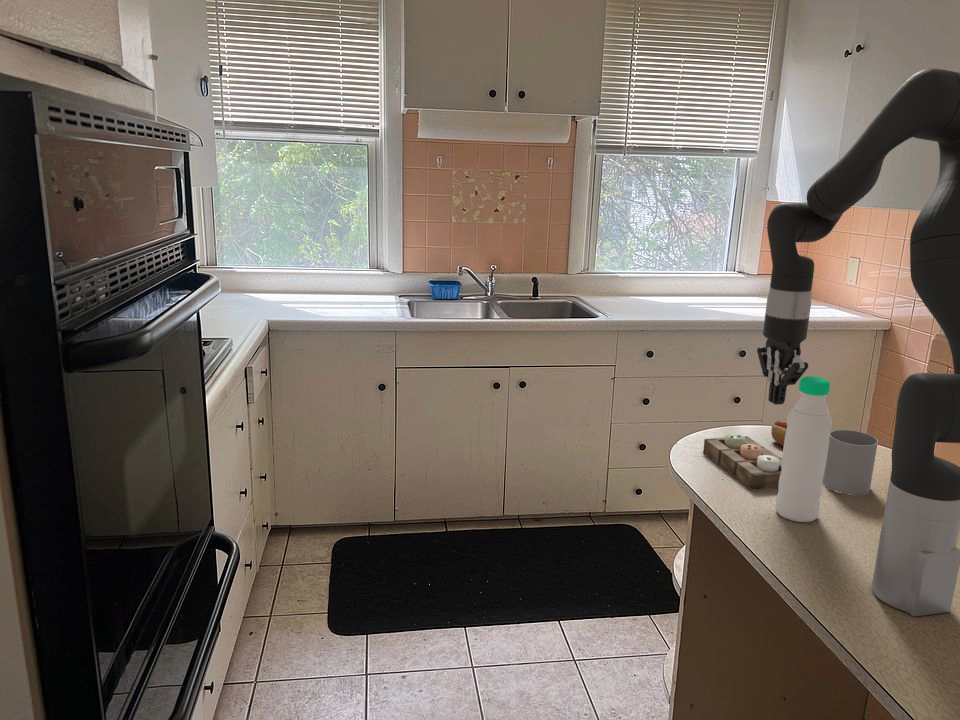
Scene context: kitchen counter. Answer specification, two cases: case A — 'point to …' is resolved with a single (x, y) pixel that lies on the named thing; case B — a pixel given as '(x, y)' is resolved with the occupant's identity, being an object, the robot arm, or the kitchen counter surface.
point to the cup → (850, 462)
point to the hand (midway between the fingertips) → (775, 402)
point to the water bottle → (805, 452)
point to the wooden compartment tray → (742, 464)
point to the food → (779, 432)
